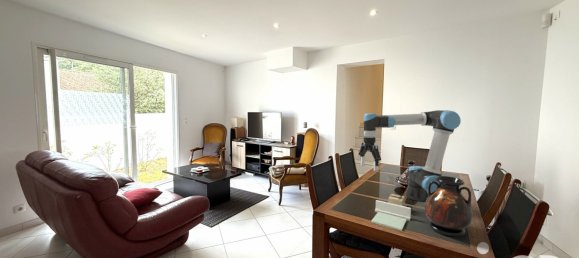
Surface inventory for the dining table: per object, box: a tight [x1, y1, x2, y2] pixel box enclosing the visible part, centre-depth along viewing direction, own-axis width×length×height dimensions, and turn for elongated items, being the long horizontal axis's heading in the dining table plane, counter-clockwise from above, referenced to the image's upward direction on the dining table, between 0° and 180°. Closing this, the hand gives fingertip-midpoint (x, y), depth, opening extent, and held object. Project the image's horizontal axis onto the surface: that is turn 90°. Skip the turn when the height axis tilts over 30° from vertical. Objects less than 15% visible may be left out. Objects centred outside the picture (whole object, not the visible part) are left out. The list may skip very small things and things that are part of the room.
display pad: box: [371, 212, 407, 232], centre depth 135 cm, size 14×16×1 cm
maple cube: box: [387, 193, 405, 206], centre depth 151 cm, size 8×8×8 cm
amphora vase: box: [423, 175, 474, 238], centre depth 125 cm, size 22×22×28 cm
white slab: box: [374, 199, 412, 221], centre depth 143 cm, size 3×20×6 cm, turn 54°
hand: (369, 168), depth 156 cm, fingers open, 13 cm apart
